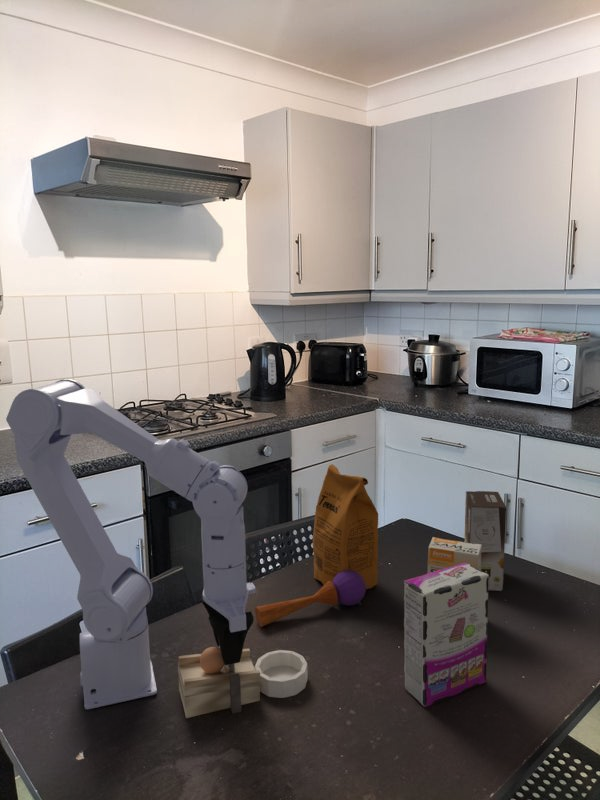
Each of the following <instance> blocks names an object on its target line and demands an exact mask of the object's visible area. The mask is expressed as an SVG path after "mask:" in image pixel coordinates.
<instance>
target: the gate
mask: <svg viewBox="0 0 600 800" xmlns="http://www.w3.org/2000/svg"><path fill="white" fill-rule="evenodd" d="M225 667H226V669H227V672H228V674H230V673H235V664H229V665H225Z"/></svg>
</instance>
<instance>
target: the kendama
mask: <svg viewBox="0 0 600 800" xmlns="http://www.w3.org/2000/svg"><path fill="white" fill-rule="evenodd" d="M366 591H367V589H366V585H365V582H364V579H363V578H362V576H361V575H360V574H358V573H357V572H355V571H351V570H347V571H342V572H340V573H338V574H337V575H336V576H335V577H334V579H333V582H331V581H328V582H327V583H326V584H325V585H323V586H321V587H320V589H319V590H317V591H316V593H315V594H314V595H310V596H304V597H301V598H294V599H289V600H283V601H279V602H278V601H277V602H274V603H270V604H269V603H268V604H264V605H263V604H262V605H259V606H255V608H254V615H255V618H256V621H257V624H258V626H259V627H260V628H263V627H265V626H267V625H270V624H271V623H275V622H277V621H278V620H279V619H282V618H284V617H287V616H288V615H290V614H292V613H295V612H297V611H299V610H301V609H303V608H306V607H308V606H310V605H312V604H314V603H320V604H326V605H332V606H337V605H338V603H340V604H341V605H343V606H351V607H352V606H354V605H357V604H359V603H360V602H361V600H363V598H364V597H365V594H366Z"/></svg>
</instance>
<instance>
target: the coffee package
mask: <svg viewBox="0 0 600 800" xmlns="http://www.w3.org/2000/svg"><path fill="white" fill-rule="evenodd" d="M368 484H369V481H368V479H367V478H366V477H363V476H355V475H348V474H341V473H340V471H339V468H337V467H336V466H335V465H334V464H329V465H328V467H327V471H326V475H325V476H324V479H323V482H322V485H321V489H320V492H319V495H318V500H317V503H316V507H315V512H314V523H313V524H314V525H313V535H312V550H313V579H315V580H317V581H319V582H321V583H322V585H323V586H324V585H325V584H326V583H327V582H328V581H331V582H333V579H334V577H335V576H336V575H337V574H338V573H340V572H342V571H347V570H351V571H355V572H357V573H358V574H360V575H361V576H362V578H363V579H364V582H365V585H366V590H368V589H369V590H370V589H372V588H373V587H374V586H376V585H378V583H379V582H378V569H379V566H378V564H379V563H378V562H379V561H378V560H379V559H378V558H379V549H378V547H379V546H378V545H379V528H378V527H379V513H378V511H377V508H376V506H375V504H374V503H373V500H372V498H371V497H370V495H369V494H368V492H367V489H366V487H365V486H366V485H368Z"/></svg>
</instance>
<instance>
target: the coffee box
mask: <svg viewBox="0 0 600 800" xmlns="http://www.w3.org/2000/svg"><path fill="white" fill-rule="evenodd" d="M464 505H465V507H464V508H465V509H464V511H465V512H464V541H463V542H467V543H473V544H481V545H482V549H481V568H480V571H483V572H484V573H486V574H488V575H489V577H488V578H489V579H488V591H498V592H502V591H503V586H504V568H505V567H504V566H505V546H506V545H505V544H506V526H507V525H506V524H507V523H506V521H507V519H506V518H507V506H506V503H505V502H504V501H503V499H502V497H501V495H500V493H499V491H488V490H486V491H485V490H477V491H471V490H470V491H465V503H464Z"/></svg>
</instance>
